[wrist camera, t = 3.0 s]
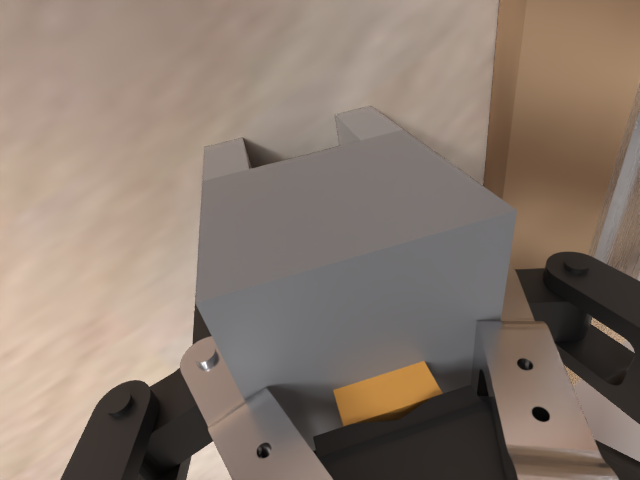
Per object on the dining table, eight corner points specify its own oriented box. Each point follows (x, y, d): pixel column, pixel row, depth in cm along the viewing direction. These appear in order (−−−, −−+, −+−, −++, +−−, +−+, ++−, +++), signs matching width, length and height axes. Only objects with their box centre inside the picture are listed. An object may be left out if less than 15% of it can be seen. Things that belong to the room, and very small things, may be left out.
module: (204, 146, 12) (192, 342, 5) (370, 105, 12) (552, 235, 6) (268, 323, 16) (305, 546, 10) (387, 288, 17) (498, 476, 10)
